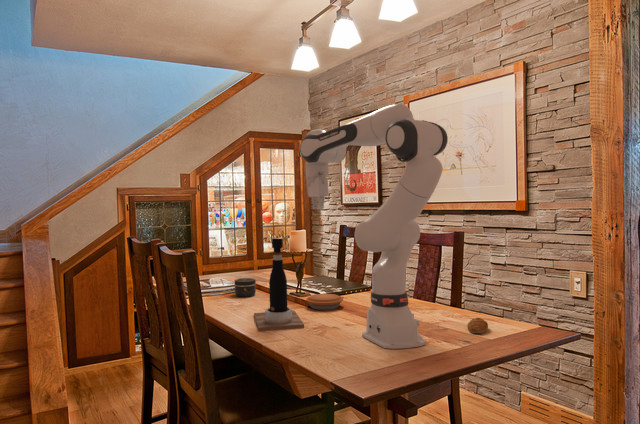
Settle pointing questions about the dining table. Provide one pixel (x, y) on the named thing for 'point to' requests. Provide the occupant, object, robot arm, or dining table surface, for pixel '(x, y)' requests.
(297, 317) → the walnut board
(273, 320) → the grey bowl
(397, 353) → the dining table surface
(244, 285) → the jar
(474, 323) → the pastry
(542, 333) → the dining table surface
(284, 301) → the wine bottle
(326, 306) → the pie
